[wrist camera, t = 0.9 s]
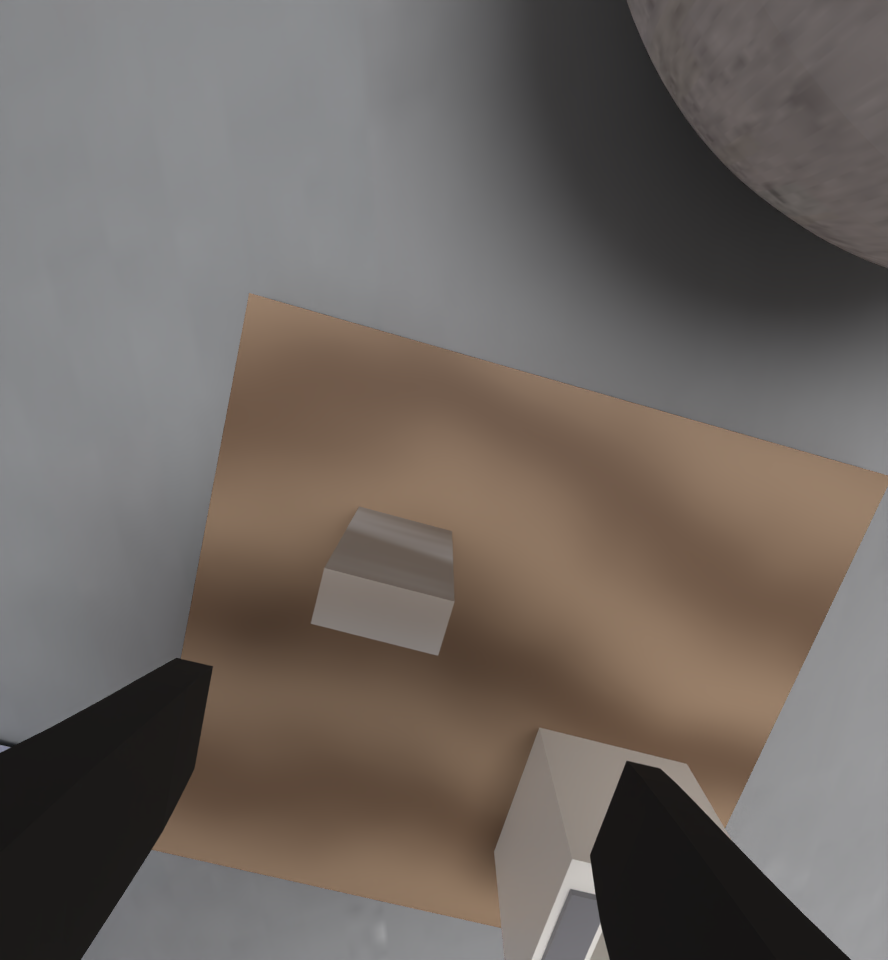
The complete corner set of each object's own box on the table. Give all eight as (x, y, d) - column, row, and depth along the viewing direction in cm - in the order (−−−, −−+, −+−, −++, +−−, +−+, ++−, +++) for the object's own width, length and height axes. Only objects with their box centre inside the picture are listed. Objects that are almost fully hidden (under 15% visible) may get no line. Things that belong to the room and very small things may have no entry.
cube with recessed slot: (687, 764, 19) (773, 911, 14) (633, 884, 20) (695, 1060, 15) (539, 727, 19) (573, 864, 14) (494, 851, 20) (510, 1020, 15)
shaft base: (649, 931, 22) (725, 1147, 16) (161, 820, 21) (47, 1008, 15) (862, 469, 18) (1076, 527, 12) (263, 297, 17) (159, 265, 11)
